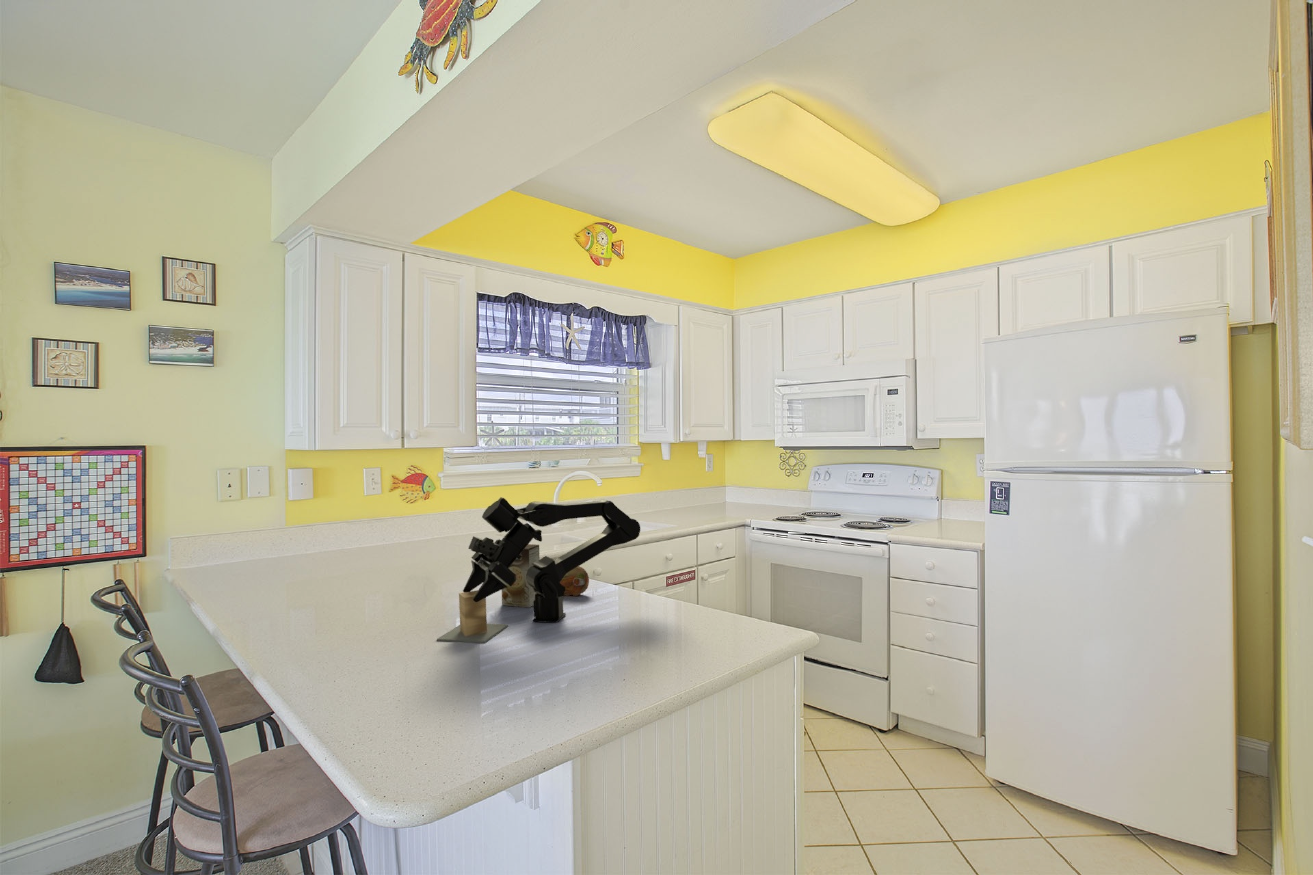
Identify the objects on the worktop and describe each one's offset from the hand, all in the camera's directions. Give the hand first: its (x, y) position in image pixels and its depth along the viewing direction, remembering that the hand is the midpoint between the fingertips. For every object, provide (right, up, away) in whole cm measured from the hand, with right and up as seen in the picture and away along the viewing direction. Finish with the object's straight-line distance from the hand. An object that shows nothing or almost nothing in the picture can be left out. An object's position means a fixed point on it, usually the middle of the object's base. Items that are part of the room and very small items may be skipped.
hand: (469, 596), depth 151 cm
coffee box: (+7, -8, +25) cm, 27 cm away
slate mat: (+1, -9, +1) cm, 9 cm away
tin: (+18, -8, +33) cm, 39 cm away
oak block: (+1, -8, +1) cm, 9 cm away
